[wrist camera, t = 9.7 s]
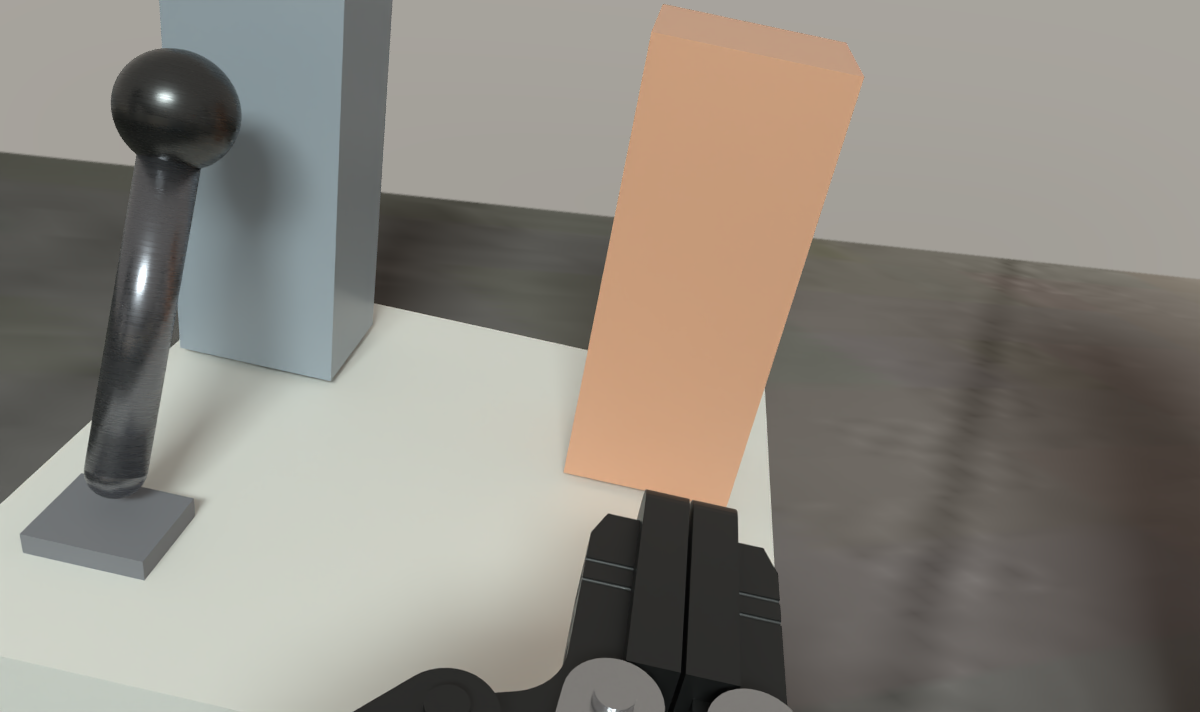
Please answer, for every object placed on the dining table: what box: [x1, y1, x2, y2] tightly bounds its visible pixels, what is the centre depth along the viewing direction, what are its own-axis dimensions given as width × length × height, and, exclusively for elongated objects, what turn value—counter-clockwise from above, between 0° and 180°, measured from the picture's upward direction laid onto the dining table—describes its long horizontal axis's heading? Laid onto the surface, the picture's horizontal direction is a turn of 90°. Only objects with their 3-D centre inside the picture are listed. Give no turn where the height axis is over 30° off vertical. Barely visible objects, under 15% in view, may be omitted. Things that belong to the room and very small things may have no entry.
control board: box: [0, 303, 774, 712], centre depth 28 cm, size 18×20×4 cm
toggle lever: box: [84, 48, 242, 499], centre depth 22 cm, size 3×3×11 cm
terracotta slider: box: [564, 4, 864, 507], centre depth 26 cm, size 4×5×13 cm
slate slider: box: [159, 0, 392, 381], centre depth 28 cm, size 4×5×13 cm
